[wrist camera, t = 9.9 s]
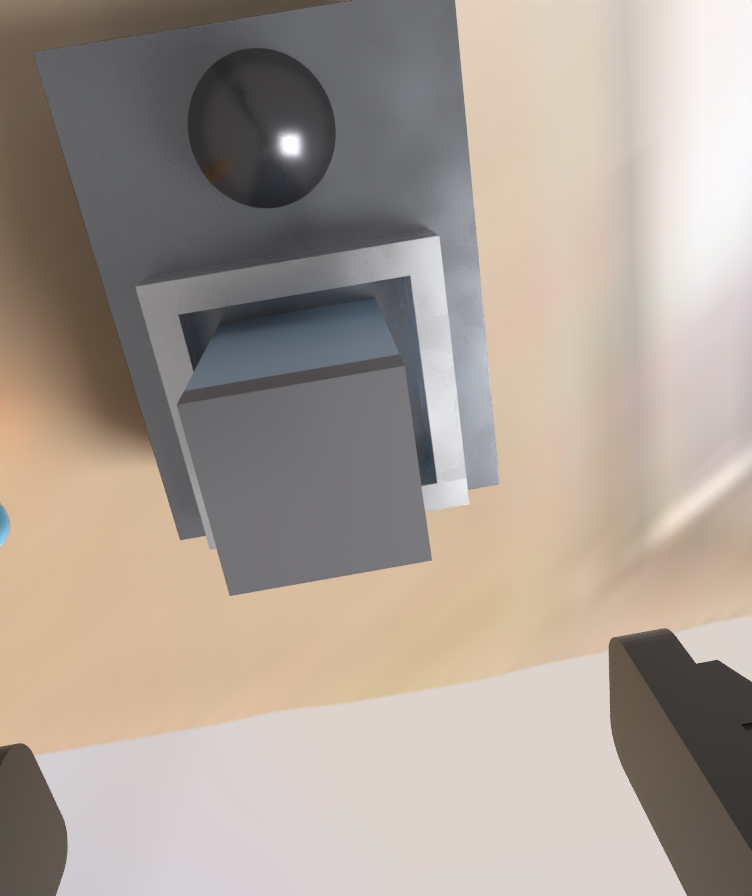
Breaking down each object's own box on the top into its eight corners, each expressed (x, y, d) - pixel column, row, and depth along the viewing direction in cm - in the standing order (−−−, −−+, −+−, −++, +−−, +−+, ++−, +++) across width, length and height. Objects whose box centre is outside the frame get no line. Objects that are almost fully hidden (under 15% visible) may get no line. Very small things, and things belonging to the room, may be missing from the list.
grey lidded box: (218, 324, 23) (176, 404, 16) (375, 297, 23) (404, 366, 16) (253, 466, 25) (229, 595, 18) (396, 441, 25) (431, 560, 18)
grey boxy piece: (100, 76, 26) (4, 42, 18) (418, 24, 27) (467, -33, 18) (205, 463, 33) (170, 569, 24) (462, 418, 33) (513, 509, 25)
